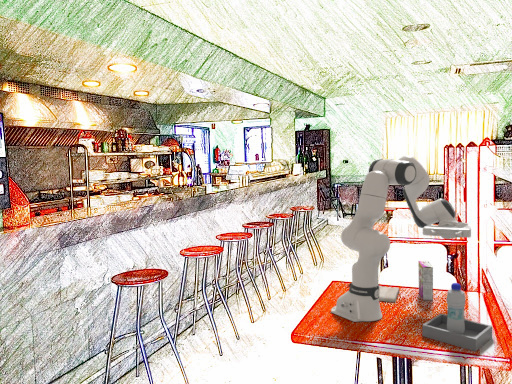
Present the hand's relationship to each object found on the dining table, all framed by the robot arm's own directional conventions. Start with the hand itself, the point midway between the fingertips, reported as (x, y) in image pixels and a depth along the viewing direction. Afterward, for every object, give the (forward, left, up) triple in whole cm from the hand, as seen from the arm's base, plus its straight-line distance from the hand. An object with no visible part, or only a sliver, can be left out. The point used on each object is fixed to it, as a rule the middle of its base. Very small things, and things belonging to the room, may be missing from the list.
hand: (445, 234), depth 201 cm
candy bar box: (-14, +11, -34) cm, 39 cm away
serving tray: (+16, -25, -34) cm, 45 cm away
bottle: (+15, -25, -33) cm, 44 cm away
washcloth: (-30, 0, -35) cm, 46 cm away
